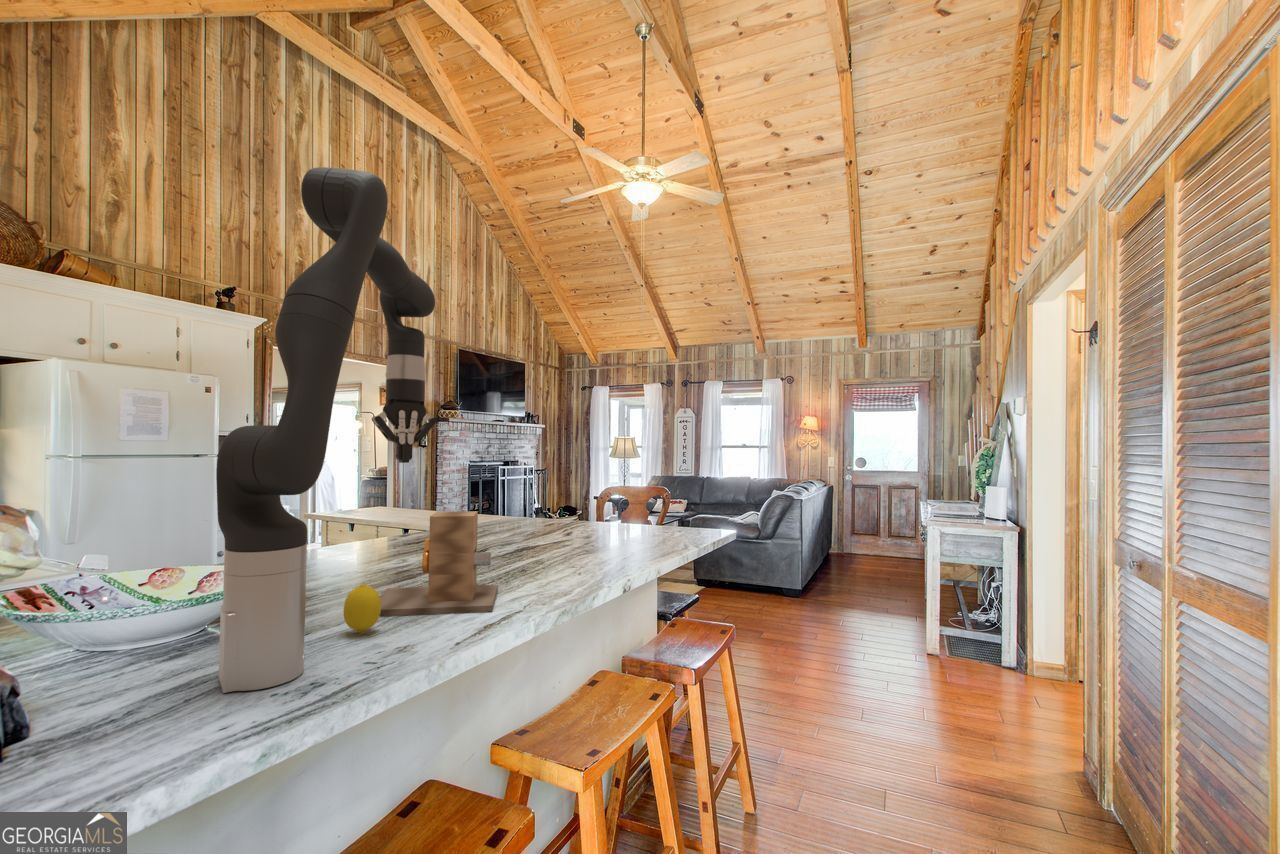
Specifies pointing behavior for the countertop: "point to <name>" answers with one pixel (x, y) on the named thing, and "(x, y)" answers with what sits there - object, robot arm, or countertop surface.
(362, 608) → the lemon
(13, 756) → the countertop surface
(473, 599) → the hitch post
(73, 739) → the countertop surface
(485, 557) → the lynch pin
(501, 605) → the countertop surface
